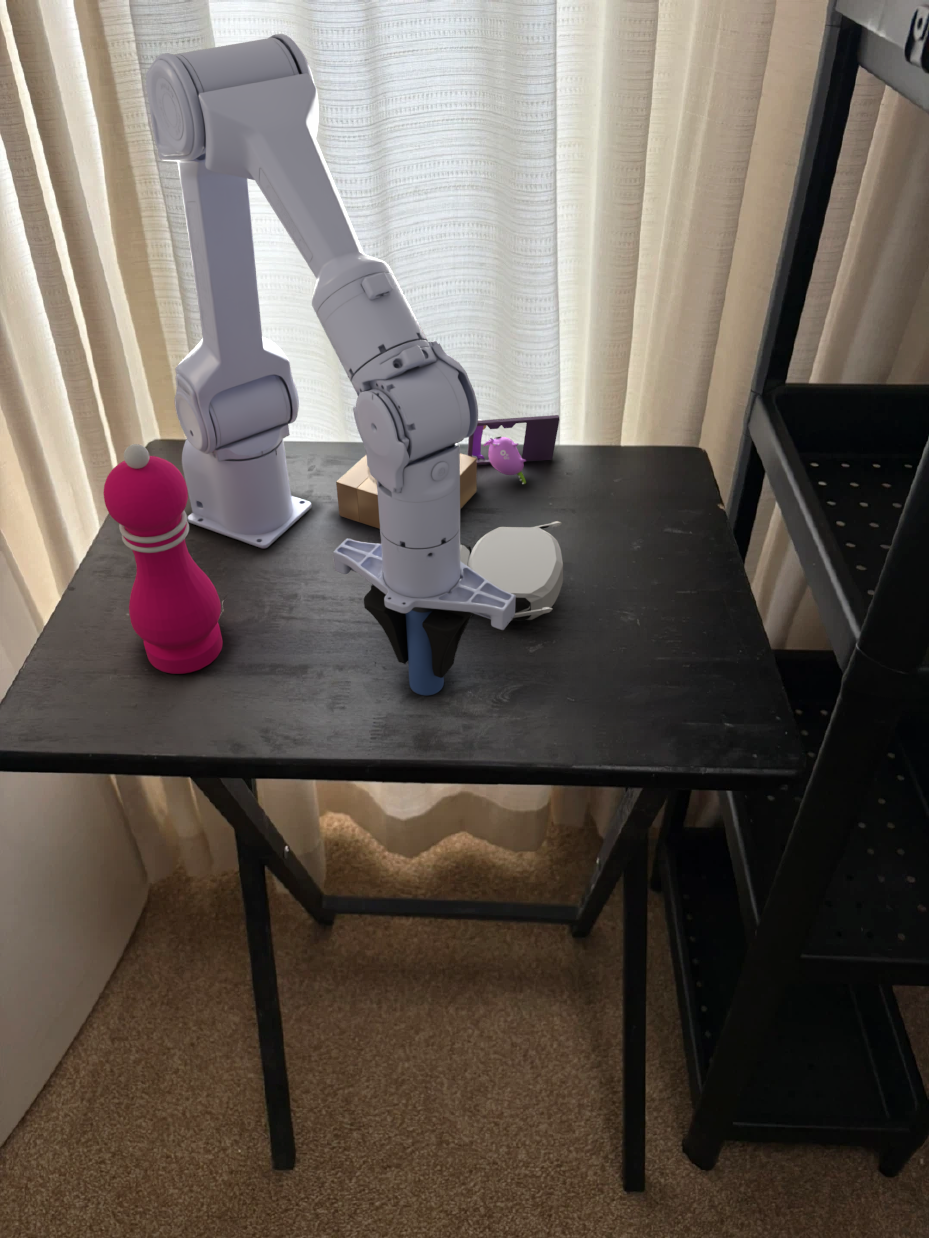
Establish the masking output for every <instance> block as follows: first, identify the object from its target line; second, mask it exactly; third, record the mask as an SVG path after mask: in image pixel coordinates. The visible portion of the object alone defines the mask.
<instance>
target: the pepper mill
mask: <svg viewBox="0 0 929 1238" xmlns="http://www.w3.org/2000/svg"><path fill="white" fill-rule="evenodd" d="M103 500H104V504H105V508H106V510H107V512H108V515H109V516H110V517H111V518H112V519H113V520H114V521H115V522H116V523H118V524H119V525H118V528H119V532H120V534H121V541H122V542H123V544H124V545H125V546H126V547H127V548H129V549H130V550H131V551H132V553H133V555H134V560H135V565H136V573H135V579H134V582H133V584H132V587H131V590H130V594H129V595H130V596H129V601H128V603H129V604H128V612H129V619H130V623H131V626H132V629H133V630H134V632H135V633H136V635H137V636H139V638H140V639H142V640H143V646H144V649H145V652H146V653H145V654H146V655H147V656H146V657H147V659H148V662H149V663H150V664H151V665H152V666H153V667H154V668H155V669H157V670H159V671H161V672H163V673H167V674H171V675H175V674H177V675H183V674H190V673H193V672H197V671H199V670H202V669H203V668H205V667H207V666H209V665H211V664H212V662H214V661H215V660H216V659H217V658H218V656H219V655H220V653H221V651H222V650H223V644H224V643H223V642H224V641H223V636H222V632H221V627H220V624H219V620H220V617H221V614H222V603H221V599H220V596H219V593H218V590H217V589H216V587H215V585H214V584H213V582H212V580H211V579H210V578H209V576H208V575H207V574H206V573H205V572H204V571H203V569H201V568H200V567H199V565H198V564H197V562H195V560H194V559H193V557H192V556H191V554H190V552H189V550H188V547H187V543H186V537H187V536H188V535H189V532H190V524H189V522H188V519H187V517H188V515H187V512H186V511H185V509H186V507H187V504H188V501H189V494H188V490H187V485H186V480H185V476H184V475H183V474H182V472H181V471H180V470H179V469H178V467H177V466H176V465H174V464H173V463H172V462H171V461H169V460H167V459H165V458H162V457H159V456H156V455H150V452H149V451H148V449H147V448H146V446H144V445H142V444H140V443H133V444H130V445H129V446H127V447H126V448H125V450H124V451H123V461H121V462H119V463H118V464H116V465H115V466H114V467H113V468H112V469H111V471H110V472H109V473H108V474H107V477H106V479H105V482H104V485H103Z"/></svg>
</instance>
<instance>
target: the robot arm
mask: <svg viewBox="0 0 929 1238" xmlns="http://www.w3.org/2000/svg"><path fill="white" fill-rule="evenodd" d="M145 76H146V79H145V85H146V87H145V88H146V95H147V101H148V107H149V113H150V119H151V125H152V132H153V139H154V143H155V146H156V149H157V154H158V158H159V159H160V160H161V161H166V162H177V167H178V174H179V182H180V187H181V195H182V202H183V208H184V216H185V223H186V229H187V237H188V245H189V249H190V250H189V251H190V258H191V265H192V272H193V279H194V280H193V281H194V286H195V293H196V301H197V307H198V314H199V315H198V316H199V321H200V322H199V323H200V329H201V335H202V338H201V340H200V341H199V342H198V343H197V344H196V345H195V346H194V348H193V349H191V350H190V352H189V353H188V354H187V355H186V356H184V358H183V359H182V360H181V361H180V362H178V364H177V366H176V367H175V368H174V370H175V387H176V388H175V395H174V408H175V413H176V417H177V420H178V422H179V425H180V428H181V430H182V432H183V434H184V436H185V437H186V439H185V441H184V444H183V447H182V452H181V467H182V471H183V477H184V479H185V482H186V485H187V490H188V500H189V502H190V507H191V513H190V514H189V515H187V522H188V523H190V524H193V525H196V526H198V527H200V528H204V529H206V530H209V531H212V532H215V533H218V534H220V535H223V536H227V537H229V538H231V539H235V540H238V541H240V542H243V543H246V544H249V545H252V546H254V547H258V548H260V549H267V548H269V547H270V546H271V545H272V544H273V543H274V542H275V541H277V539H278V538H279V537H281V536H282V535H283V534H284V533H285V532H286V531H287V530H288V529H290V528H291V527H292V526H293V525H294V524H295V523H296V522H297V521H298V520H299V519H300V518H302V517H303V516H304V515H305V514H306V513H307V512H308V511H310V510H311V509H312V507H313V506H312V502H311V501H309V500H306V499H303V498H300V497H297V496H294V495H292V492H291V491H292V490H291V484H290V477H289V469H288V464H287V463H288V461H287V456H286V447H285V441H284V439H286V438H287V437H289V436H290V427H289V425H290V424H294V423H295V422H296V421H297V419H298V414H299V411H300V397H299V393H298V389H297V386H296V383H295V380H294V377H293V372H292V367H291V361H290V360H289V358H288V356H287V355H286V354H285V352H284V351H283V350H282V348H280V346H278V344H276V343H275V342H274V341H273V340H270V339H269V338H266V337H264V336H263V329H262V319H261V318H262V317H261V309H260V308H261V307H260V306H261V305H260V298H259V285H258V276H257V267H256V265H257V264H256V254H255V244H254V243H255V242H254V234H253V233H254V231H253V223H252V212H251V203H250V191H249V181H248V180H251V181H254V182H255V183H256V185H257V186H258V188H259V189H260V192H261V193H262V194H263V197H265V199H266V201H267V202H268V204H269V206H270V207H271V209H272V210H273V212H274V213H275V215H276V217H277V218H278V220H279V222H280V223H281V225H282V226H283V228H284V229H285V232H286V233H287V234H288V236H289V238H290V239H291V241H292V242H293V244H294V245H295V247H296V249H297V250H298V252H299V253H300V255H301V257H302V259H303V260H304V261H305V263H306V265H307V266H308V268H309V270H310V271H311V272H312V274H313V276H314V277H315V280H316V282H315V286H314V288H313V289H314V290H313V293H312V297H311V308H312V310H313V312H314V314H315V316H316V317H317V319H318V321H319V323H320V325H321V327H322V329H323V332H324V333H325V335H326V337H327V339H328V341H329V343H330V345H331V347H332V349H333V350H334V352H335V354H336V356H337V358H338V360H339V362H340V364H341V366H342V368H343V370H344V371H345V372H344V373H346V375H347V378H348V380H349V381H350V383H351V385H352V387H353V389H354V391H355V394H356V396H357V399H356V402H355V406H353V407H352V412H353V417H354V422H355V426H356V429H357V432H358V434H359V436H360V439H361V441H362V444H363V446H364V450H365V455H366V456H367V466H368V467H369V469H370V474H371V475H372V476H373V477H374V478H375V479H376V480H377V493H378V506H379V520H380V529H379V532H380V543H374V542H366V541H360V540H355V539H352V538H349V537H348V538H345V539H344V540H343V541H342V542H341V543H340V544H339V545H338V546H336V548H335V549H334V550H333V551H332V553H333V554H332V555H333V564H334V572H336V573H339V574H341V575H342V574H343V575H347V574H349V573H350V572H355V573H357V574H359V575H360V576H361V577H362V578H364V579H365V580H366V581H368V582H369V583H370V584H371V585H370V589H369V591H368V592H367V593H366V594H365V595H364V597H363V606H364V609H365V610H366V611H368V612H369V613H370V614H371V616H373V617H374V619H375V620H376V621H377V623H378V624H379V625H380V627H381V628H382V630H383V631H384V633H385V636H386V637H387V639H388V641H389V643H390V646H391V647H392V650H393V652H394V655H395V657H396V659H397V661H398V663H400V664H403V665H406V664H407V663H408V647H407V629H406V613H408V612H410V611H411V610H412V609H413V608H414V607H421V608H432V609H434V610H433V611H432V612H431V613H430V614H429V615H428V617H427V618H426V619H425V620H424V621H423V623H422V627H423V628H424V630H425V632H426V633H427V636H428V638H429V642H430V645H431V651H432V669H433V673H434V676H437V677H440V678H443V677H444V678H445V676H446V674H447V673H448V671H449V670H450V669H451V668H452V666H453V665H454V664H455V660H456V659H455V658H456V654H457V651H458V647H459V644H460V641H461V639H462V636H463V634H464V631H465V630H466V628H467V626H468V624H469V622H470V620H471V619H472V617H473V615H477V616H480V617H483V618H485V619H489V620H490V625H491V627H493V628H495V629H498V630H501V631H504V630H505V629H506V627H507V626H508V625H509V623H511V621H512V620H511V619H512V618H513V617H514V615H515V601H516V595H514V594H511V593H508V592H506V591H504V590H502V589H500V588H498V587H497V586H495V585H494V584H492V583H491V582H489V581H488V580H486V579H485V578H484V577H482V576H481V575H479V574H478V573H476V572H475V571H474V570H472V569H471V568H469V567H468V566H466V565H465V564H464V563H462V562H461V561H460V543H461V509H460V453H461V446H460V444H459V443H460V442H463V441H464V440H465V439H467V438H469V437H470V436H471V435H472V434H473V433H474V431H475V430H476V427H477V423H478V419H479V407H478V406H479V405H478V401H477V396H476V393H475V390H474V386H473V385H472V383H471V381H470V378H469V376H468V373H467V371H466V370H465V368H464V367H463V366H462V365H461V363H460V362H459V361H458V360H457V359H455V358H454V357H453V356H451V355H450V354H448V353H447V352H446V351H445V350H444V349H443V347H442V345H441V344H440V343H438V342H437V340H432V341H431V340H430V341H429V340H428V338H427V336H426V334H425V332H424V330H423V328H422V326H421V325H420V322H419V321H418V318H417V316H416V315H415V313H414V311H413V309H412V307H411V305H410V304H409V302H408V300H407V298H406V296H405V294H404V292H403V289H402V287H401V286H400V283H399V282H398V280H397V278H396V276H395V274H394V273H393V270H392V269H391V267H390V265H389V264H388V263H387V262H386V261H384V260H383V259H379V258H376V257H373V256H372V255H371V256H370V255H367V254H365V252H364V250H363V248H362V246H361V243H360V241H359V238H358V235H357V234H356V231H355V229H354V226H353V224H352V222H351V219H350V217H349V215H348V212H347V210H346V206H345V205H344V202H343V200H342V198H341V195H340V193H339V190H338V187H337V186H336V183H335V181H334V179H333V176H332V174H331V171H330V169H329V167H328V164H327V161H326V159H325V157H324V155H323V152H322V150H321V147H320V145H319V142H318V140H317V135H318V129H319V118H320V110H319V96H318V95H319V94H318V89H317V86H316V85H315V80H314V76H313V72H312V69H311V66H310V63H309V62H308V59H307V58H306V56H305V53H303V51H302V50H301V48H300V46H298V44H297V42H295V41H294V39H292V38H291V37H290V36H288V35H287V34H283V33H277V34H272V35H271V36H269V37H267V38H262V39H256V40H249V41H243V42H238V43H233V44H226V45H220V46H214V47H210V48H203V49H196V50H193V51H192V50H191V51H186V52H179V53H175V54H174V53H171V52H164V53H160V54H158V55H157V56H156V57H155V59H154V60H153V62H152V63H151V65H150V66H149V68H148V69H147V70H146V72H145Z"/></svg>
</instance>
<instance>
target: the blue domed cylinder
mask: <svg viewBox="0 0 929 1238" xmlns="http://www.w3.org/2000/svg"><path fill="white" fill-rule="evenodd" d="M433 610H434V609H432V608H421V607H414V608H413V609H412V610H411V611H410V612H408V613H406V629H407V647H408V661H407V663H408V680H409V682H408V683H409V687H410V689H411V690H412V691H413V692H414V693H415V694H418V695H420V696H433V695H435V694H437V693H439V692H440V691H441V690H442V689H443V688H444V685H445V676H444V677H443V678H440V677H437V676H434V673H433V669H432V651H431V645H430V642H429V638H428V636H427V633H426V632H425V630H424V628H423V627H422V623H423V621H424V620H425V619H426V618H427V617H428V615H429V614H430V613H431V612H432V611H433Z"/></svg>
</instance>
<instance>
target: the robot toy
mask: <svg viewBox="0 0 929 1238" xmlns="http://www.w3.org/2000/svg"><path fill="white" fill-rule="evenodd" d="M562 524H563V522H561V521H558V520H557V521H552V522H551V523H545V524H541V525H536V526H499V527H497V528H495V529H493V530H491V531H489V532H486V534H484V535H483V536H482V537H480V538H479V540H478V541H477V542H476V544H475V545H474V546H473V548H472V547H471V546H470V545H468V544H465V543H462V542H460V561H461V562H462V563H464V564H465V565H466V566H468V567H469V568H471V569H472V570H474V571H475V572H476V573H478V574H479V575H481V576H482V577H484V578H485V579H486V580H488V581H489V582H491V583H492V584H494V585H495V586H497V587H498V588H500V589H502V590H504V591H506V592H508V593H511V594H514V595H516V601H515V615H514V617H513V618H512V619H511V621H519V622H520V621H523V622H524V621H526V620H527V621H532V620H534V619H536V618H538V617H540V616H543V615H544V614H548V613H550V612H552V610H553V608H552V607H553V605H555V603H556V601H557V599H558V597H559V596H560V592H561V589H562V586H563V583H564V563H563V555H562V550H561V547H560V544H559V541H558V540H557V539H556V538H555V537H554V536H553V535H552V534H551V533H550V532H548V531H546V530H544V529H547V528H556V527H557V528H558V527H560V526H561V525H562Z"/></svg>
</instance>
